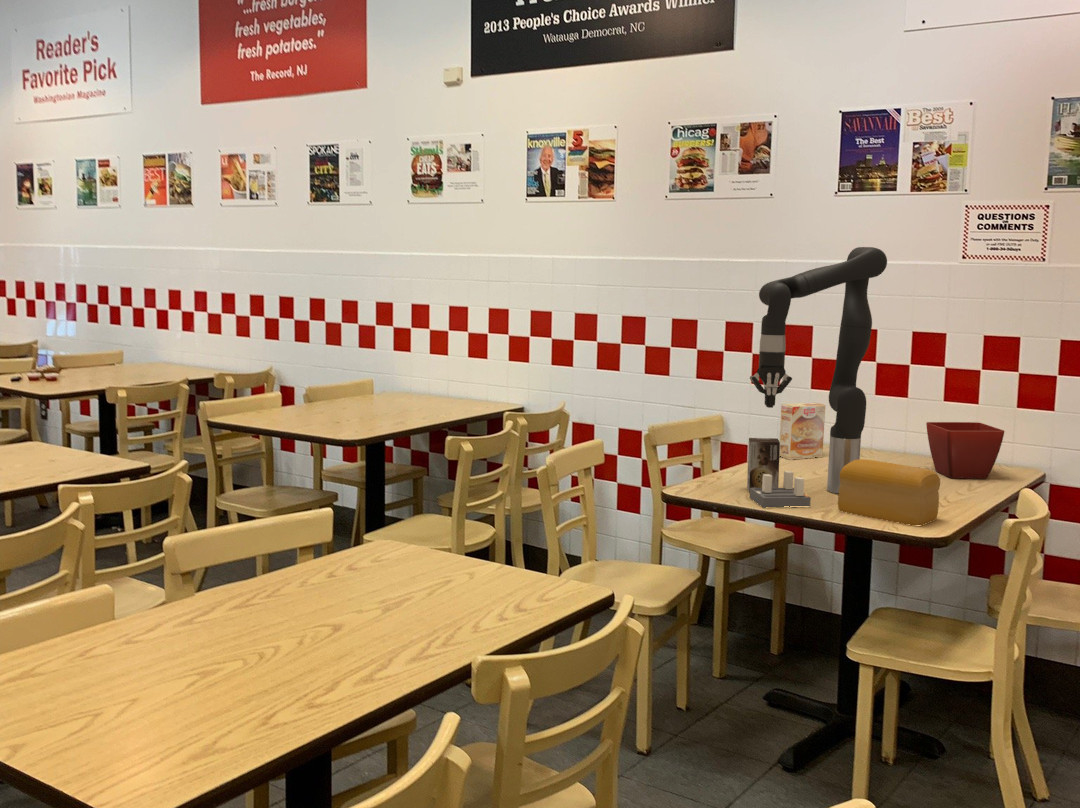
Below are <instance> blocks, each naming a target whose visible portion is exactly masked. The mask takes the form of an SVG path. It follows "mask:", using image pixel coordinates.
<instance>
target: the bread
mask: <svg viewBox="0 0 1080 808" xmlns="http://www.w3.org/2000/svg"><path fill="white" fill-rule="evenodd" d="M839 479H840V483H841V484H840V487H839V494H838V493H837V495H838V497H837V506H838V511H839V510H840V511H843V512H842V513H845V512H847V513H846V514H850V513H852V514H851V515H855V514H857V515H856V516H860V515H862V516H861V517H865V516H867V518H870V517H872V518H871V519H875V518H877V520H880V519H883V520H882V521H886V520H888V521H887V522H891V521H893V522H892V523H896V522H899V523H898V524H901V523H904V524H903V525H906V524H910V525H909V526H912V525H922V526H924V525H923V524H925V523H927V524H929V523H928V522H930V521H932V522H934V521H933V520H935V519H936V520H937V517H938V514H939V507H940V506H939V505H940V493H939V490H940V487H941V479H940V476H939V475H938V474H937V473H936V471H933V470H930V469H927V468H922V467H916V466H913V465H912V466H911V465H905V464H898V463H892V462H886V461H885V462H884V461H880V460H872V459H866V458H860V459H858V460H854V461H852V462H850V463H848V464H847V465H845V466H844V467H843V468H842V470H841V472H840V478H839ZM840 511H839V512H840ZM936 520H935V521H936ZM930 523H931V522H930ZM925 525H926V524H925Z"/></svg>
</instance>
